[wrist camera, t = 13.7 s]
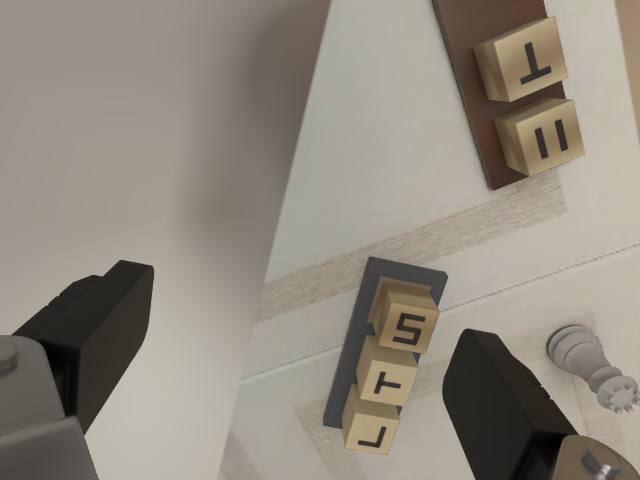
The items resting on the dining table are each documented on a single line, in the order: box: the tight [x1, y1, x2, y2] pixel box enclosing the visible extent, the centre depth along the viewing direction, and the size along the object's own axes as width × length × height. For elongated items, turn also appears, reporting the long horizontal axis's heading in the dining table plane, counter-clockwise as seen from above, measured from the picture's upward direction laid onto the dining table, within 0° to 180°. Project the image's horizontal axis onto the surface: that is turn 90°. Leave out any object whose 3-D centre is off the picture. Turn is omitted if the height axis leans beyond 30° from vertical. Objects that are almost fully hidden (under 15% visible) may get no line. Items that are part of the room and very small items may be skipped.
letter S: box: [372, 281, 440, 354], centre depth 37 cm, size 4×4×4 cm
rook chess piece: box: [549, 326, 640, 414], centre depth 38 cm, size 4×4×8 cm
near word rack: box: [432, 0, 585, 190], centre depth 31 cm, size 18×7×5 cm, turn 23°
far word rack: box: [323, 257, 448, 455], centre depth 40 cm, size 18×7×5 cm, turn 167°
